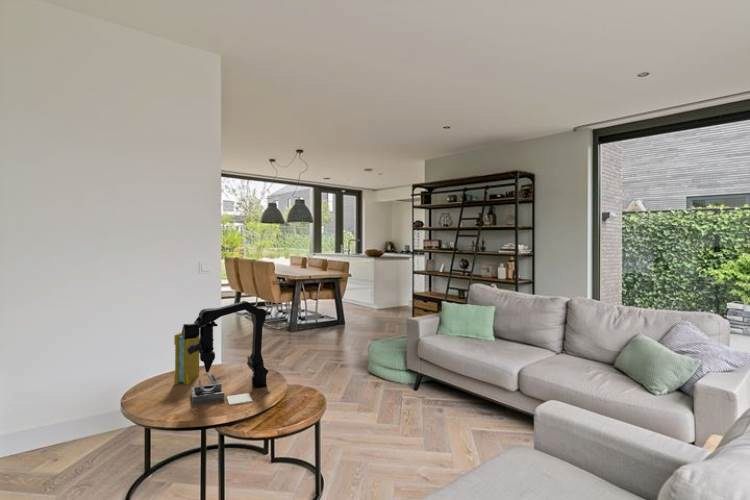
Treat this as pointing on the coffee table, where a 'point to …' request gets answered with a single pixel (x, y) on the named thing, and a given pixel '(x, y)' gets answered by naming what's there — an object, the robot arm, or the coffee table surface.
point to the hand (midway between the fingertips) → (206, 369)
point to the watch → (212, 380)
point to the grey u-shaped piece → (206, 397)
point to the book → (185, 360)
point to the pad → (239, 399)
